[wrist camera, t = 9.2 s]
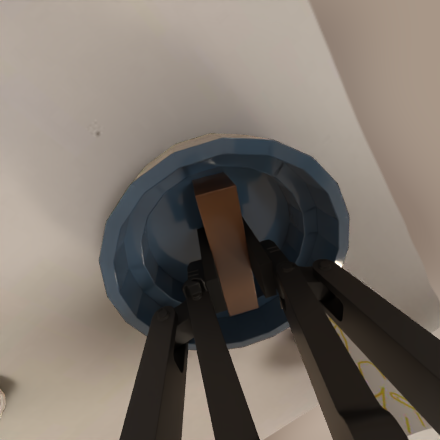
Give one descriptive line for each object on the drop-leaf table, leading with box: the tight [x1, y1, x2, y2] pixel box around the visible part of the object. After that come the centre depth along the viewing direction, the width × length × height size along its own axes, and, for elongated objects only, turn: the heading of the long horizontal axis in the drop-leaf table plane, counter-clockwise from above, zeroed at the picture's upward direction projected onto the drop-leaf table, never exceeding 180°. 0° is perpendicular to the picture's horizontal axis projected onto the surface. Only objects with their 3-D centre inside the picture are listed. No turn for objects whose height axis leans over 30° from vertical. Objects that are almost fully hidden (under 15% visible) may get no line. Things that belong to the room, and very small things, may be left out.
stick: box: [192, 172, 259, 316], centre depth 17 cm, size 11×3×4 cm, turn 12°
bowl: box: [99, 133, 349, 350], centre depth 17 cm, size 17×17×6 cm
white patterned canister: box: [294, 314, 440, 440], centre depth 23 cm, size 8×8×12 cm
